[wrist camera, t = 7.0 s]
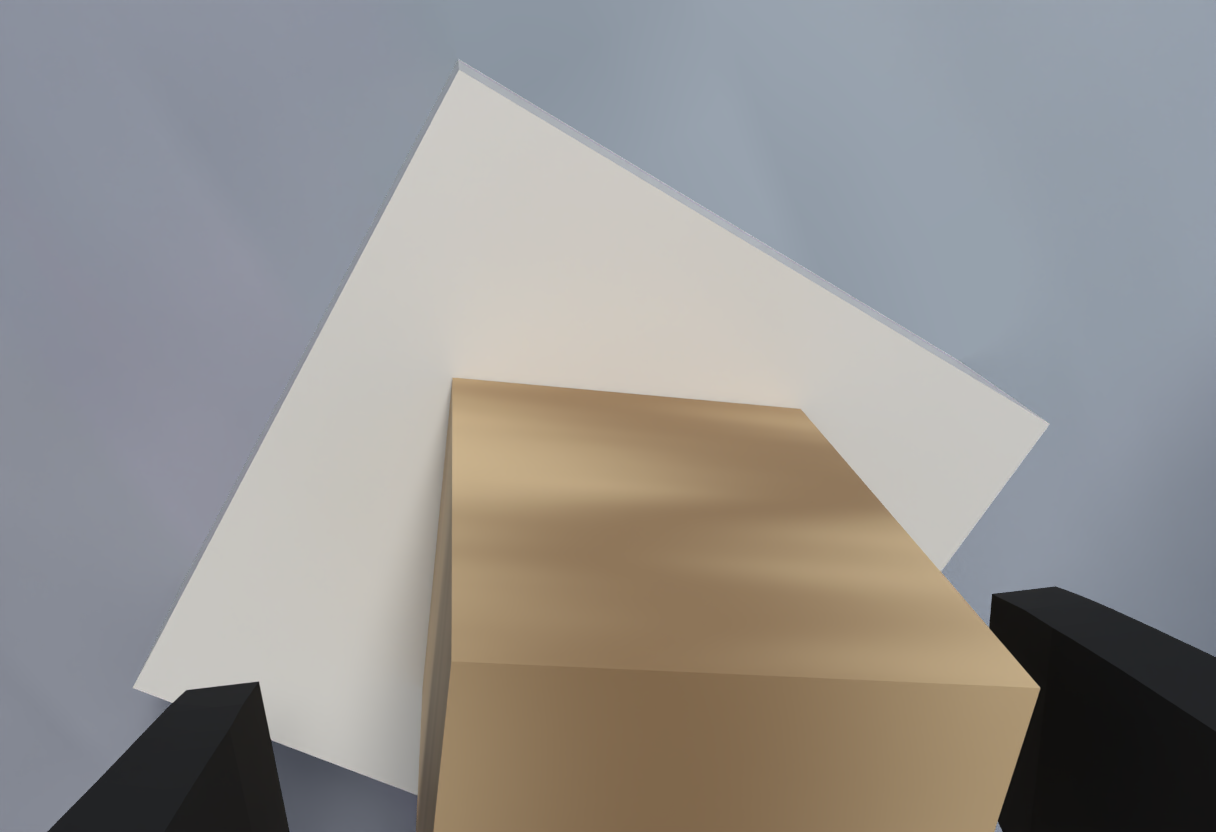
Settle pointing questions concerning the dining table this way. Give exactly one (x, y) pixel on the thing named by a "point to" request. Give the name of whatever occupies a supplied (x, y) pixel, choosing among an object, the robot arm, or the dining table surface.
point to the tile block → (537, 355)
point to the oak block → (693, 632)
